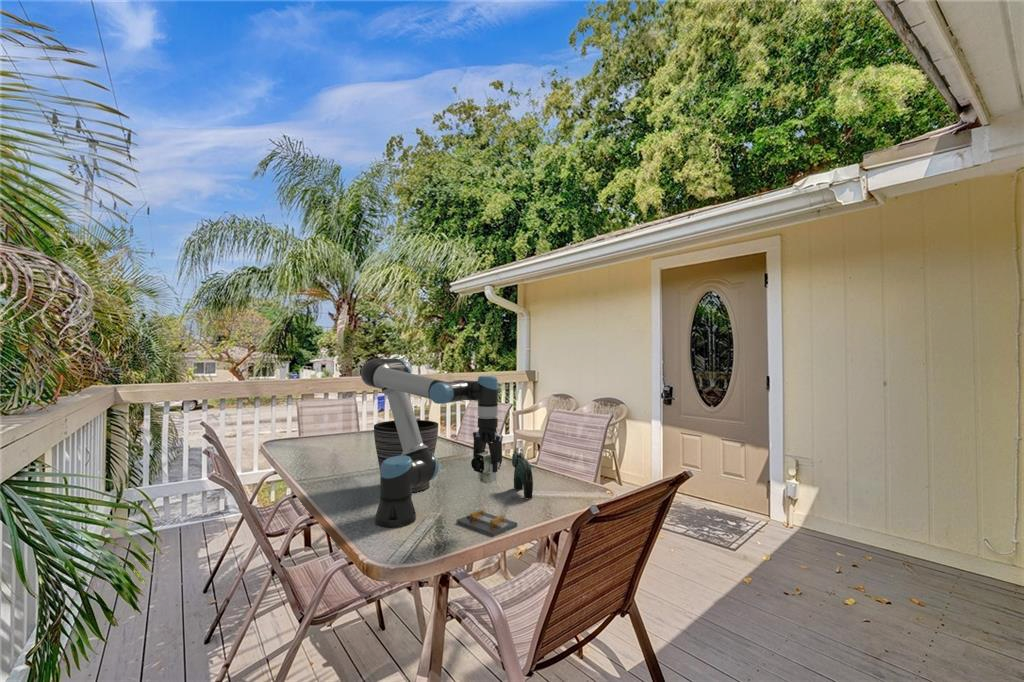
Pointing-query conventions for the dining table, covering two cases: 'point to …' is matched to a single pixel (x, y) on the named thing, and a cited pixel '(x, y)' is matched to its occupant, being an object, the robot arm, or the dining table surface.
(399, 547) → the dining table surface
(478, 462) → the pneumatic valve
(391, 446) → the planter pot
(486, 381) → the robot arm
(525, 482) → the green spring clamp
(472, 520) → the rail plate
